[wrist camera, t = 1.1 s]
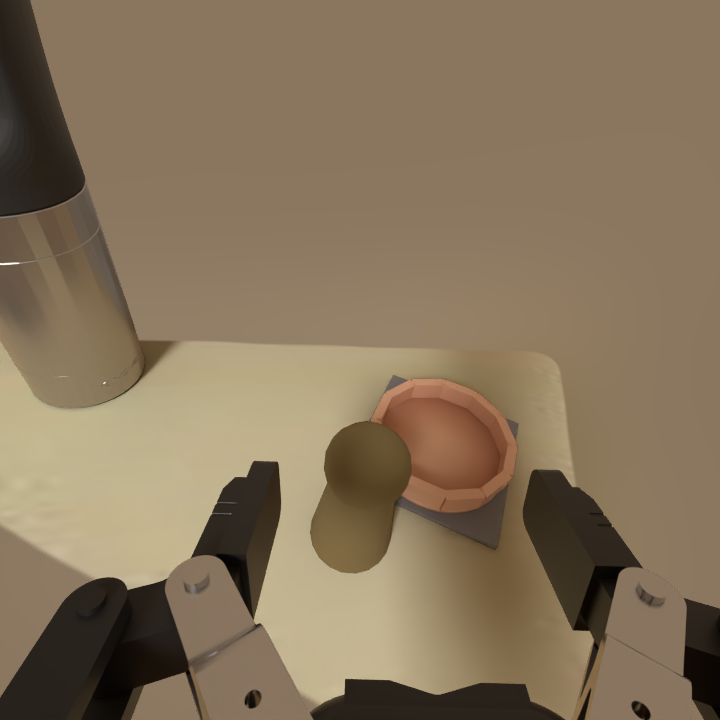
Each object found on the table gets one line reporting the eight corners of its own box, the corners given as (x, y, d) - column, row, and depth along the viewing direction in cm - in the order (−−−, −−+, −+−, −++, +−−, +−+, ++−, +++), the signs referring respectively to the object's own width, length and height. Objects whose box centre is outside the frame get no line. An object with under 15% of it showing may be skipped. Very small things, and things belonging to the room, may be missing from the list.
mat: (340, 478, 34) (340, 476, 34) (392, 377, 43) (393, 375, 43) (495, 549, 31) (497, 547, 31) (516, 426, 40) (518, 423, 40)
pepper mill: (369, 483, 34) (394, 395, 26) (404, 553, 30) (445, 475, 23) (299, 508, 32) (303, 420, 24) (328, 587, 28) (344, 514, 20)
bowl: (347, 474, 34) (350, 458, 32) (395, 379, 42) (400, 362, 41) (493, 540, 31) (504, 526, 30) (513, 425, 40) (523, 409, 38)
